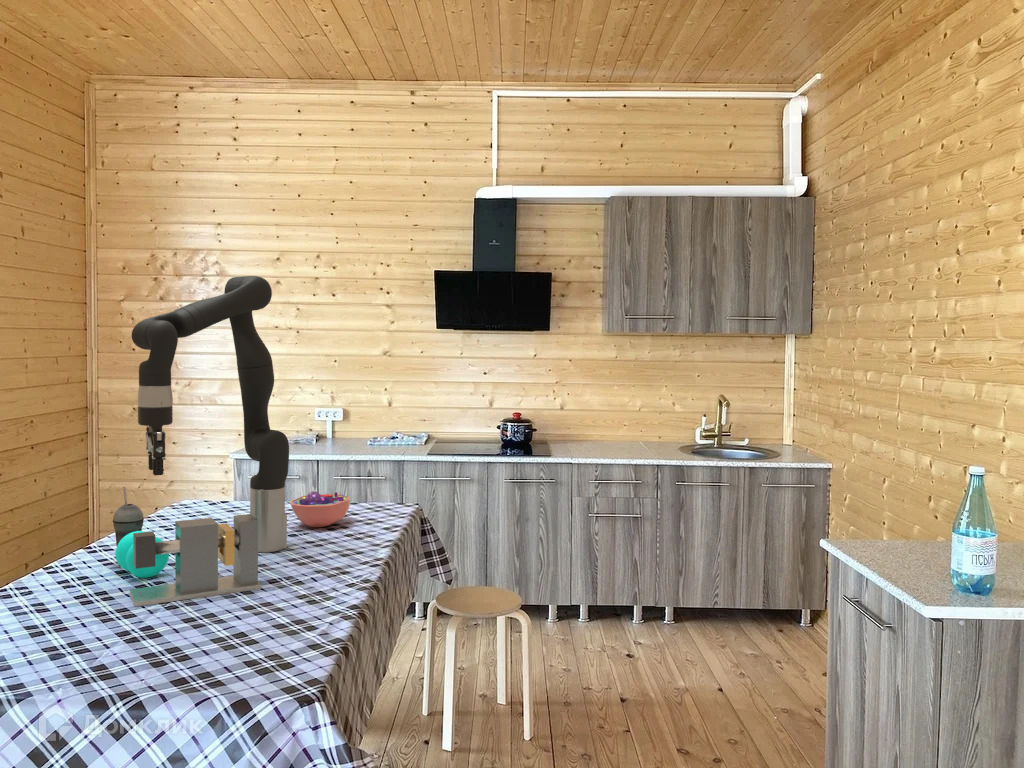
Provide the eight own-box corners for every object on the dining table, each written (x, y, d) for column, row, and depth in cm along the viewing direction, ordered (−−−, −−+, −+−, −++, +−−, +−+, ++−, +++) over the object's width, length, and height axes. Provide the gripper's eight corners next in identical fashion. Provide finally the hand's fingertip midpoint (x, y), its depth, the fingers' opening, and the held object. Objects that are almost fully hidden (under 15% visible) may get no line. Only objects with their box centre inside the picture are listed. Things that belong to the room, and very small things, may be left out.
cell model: (363, 523, 255) (363, 488, 254) (316, 535, 238) (317, 498, 237) (325, 516, 264) (325, 482, 263) (277, 527, 247) (278, 491, 246)
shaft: (250, 550, 192) (250, 521, 192) (254, 554, 189) (254, 525, 188) (133, 564, 179) (133, 533, 178) (135, 568, 175) (135, 537, 175)
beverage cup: (131, 569, 200) (131, 490, 198) (106, 567, 201) (105, 488, 200) (150, 561, 207) (150, 485, 206) (125, 559, 208) (125, 483, 207)
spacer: (226, 556, 191) (226, 523, 191) (234, 564, 184) (234, 530, 184) (217, 557, 190) (217, 524, 190) (225, 565, 183) (225, 531, 183)
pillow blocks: (251, 577, 196) (251, 512, 195) (261, 588, 187) (261, 521, 186) (129, 593, 181) (129, 524, 180) (134, 606, 173) (134, 533, 172)
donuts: (155, 565, 203) (155, 527, 203) (171, 574, 196) (170, 534, 196) (113, 573, 196) (113, 533, 196) (128, 582, 189) (128, 541, 189)
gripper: (176, 406, 185) (177, 476, 186) (168, 401, 197) (168, 466, 198) (141, 407, 181) (141, 478, 182) (134, 402, 194) (135, 468, 195)
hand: (155, 472), depth 190 cm, fingers open, 8 cm apart
